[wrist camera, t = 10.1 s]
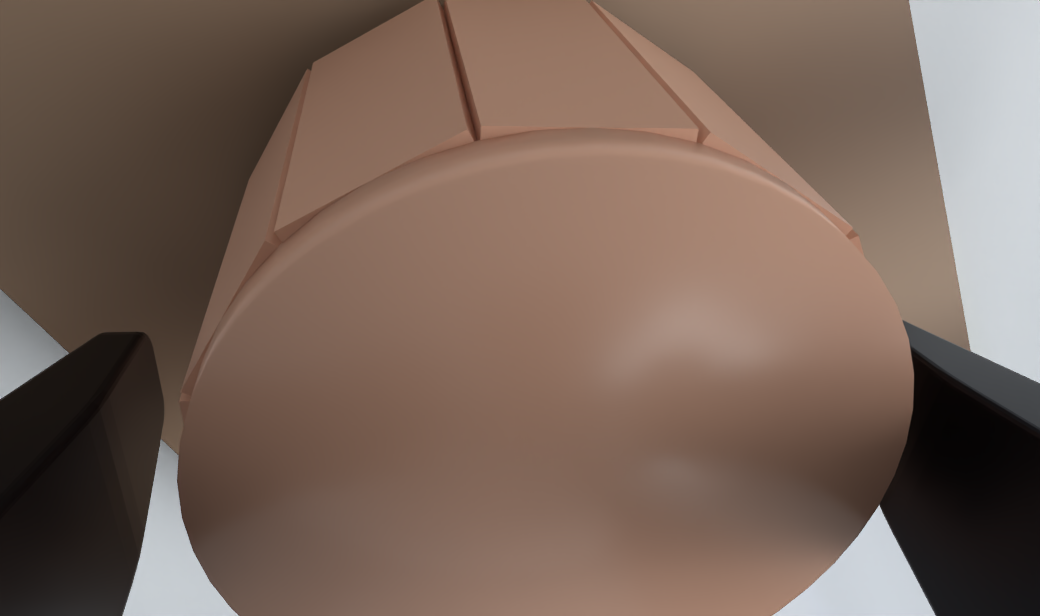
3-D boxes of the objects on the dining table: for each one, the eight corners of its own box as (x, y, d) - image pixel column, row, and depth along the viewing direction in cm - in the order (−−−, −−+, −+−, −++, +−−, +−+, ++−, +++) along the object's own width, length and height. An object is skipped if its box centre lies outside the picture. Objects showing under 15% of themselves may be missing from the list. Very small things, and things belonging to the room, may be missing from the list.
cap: (780, 306, 12) (960, 549, 8) (414, 477, 13) (427, 768, 9) (628, -115, 8) (819, -24, 5) (141, 159, 9) (-15, 413, 6)
